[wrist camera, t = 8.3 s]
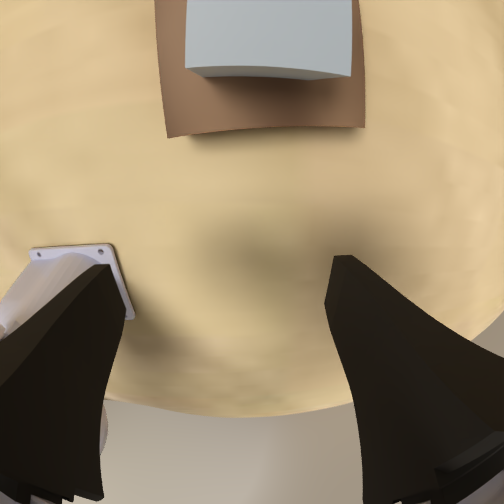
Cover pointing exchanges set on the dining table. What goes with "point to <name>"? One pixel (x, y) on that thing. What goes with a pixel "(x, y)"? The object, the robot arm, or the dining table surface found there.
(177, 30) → the walnut block
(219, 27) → the gray cube
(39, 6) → the dining table surface
